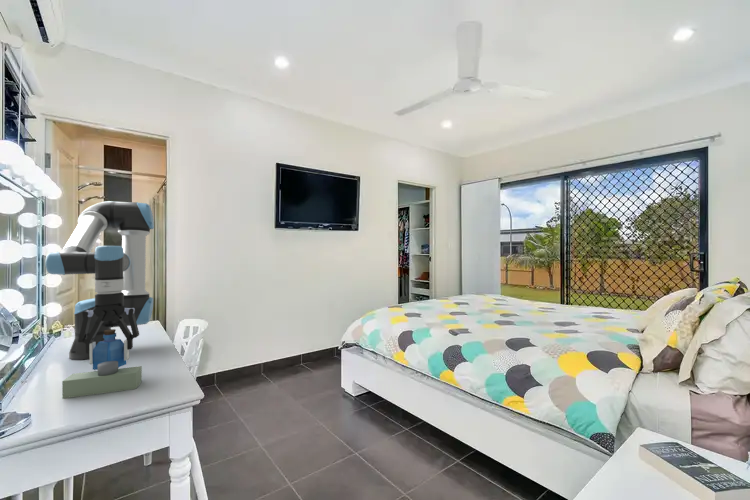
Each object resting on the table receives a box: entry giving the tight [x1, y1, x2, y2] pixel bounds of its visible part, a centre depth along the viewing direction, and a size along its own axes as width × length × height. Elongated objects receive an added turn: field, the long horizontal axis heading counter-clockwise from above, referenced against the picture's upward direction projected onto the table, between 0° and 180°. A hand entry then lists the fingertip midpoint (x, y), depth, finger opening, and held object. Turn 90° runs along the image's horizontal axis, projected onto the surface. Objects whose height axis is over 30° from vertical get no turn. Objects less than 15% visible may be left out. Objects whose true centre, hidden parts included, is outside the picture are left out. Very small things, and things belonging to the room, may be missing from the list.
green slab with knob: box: [61, 361, 143, 399], centre depth 109 cm, size 15×18×8 cm
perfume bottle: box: [92, 328, 127, 371], centre depth 112 cm, size 6×6×12 cm
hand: (109, 361), depth 113 cm, fingers closed on perfume bottle, 8 cm apart
